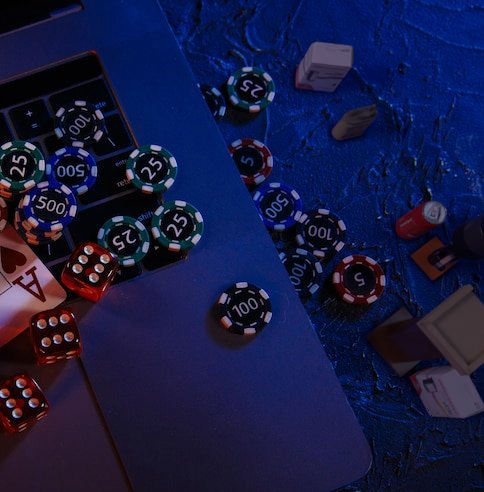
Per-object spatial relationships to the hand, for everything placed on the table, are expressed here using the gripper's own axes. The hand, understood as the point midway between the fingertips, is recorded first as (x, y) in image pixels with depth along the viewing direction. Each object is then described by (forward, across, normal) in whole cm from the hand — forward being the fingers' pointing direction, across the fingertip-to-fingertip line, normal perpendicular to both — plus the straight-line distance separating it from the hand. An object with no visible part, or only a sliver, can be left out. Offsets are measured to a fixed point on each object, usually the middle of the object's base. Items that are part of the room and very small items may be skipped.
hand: (437, 257), depth 126 cm
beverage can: (+2, 0, +8) cm, 8 cm away
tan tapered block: (+2, +5, +32) cm, 32 cm away
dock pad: (-21, -17, -9) cm, 28 cm away
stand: (+2, -17, -8) cm, 19 cm away
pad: (+2, 0, 0) cm, 2 cm away
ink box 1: (+2, +7, +45) cm, 46 cm away
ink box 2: (+2, -19, -19) cm, 27 cm away
